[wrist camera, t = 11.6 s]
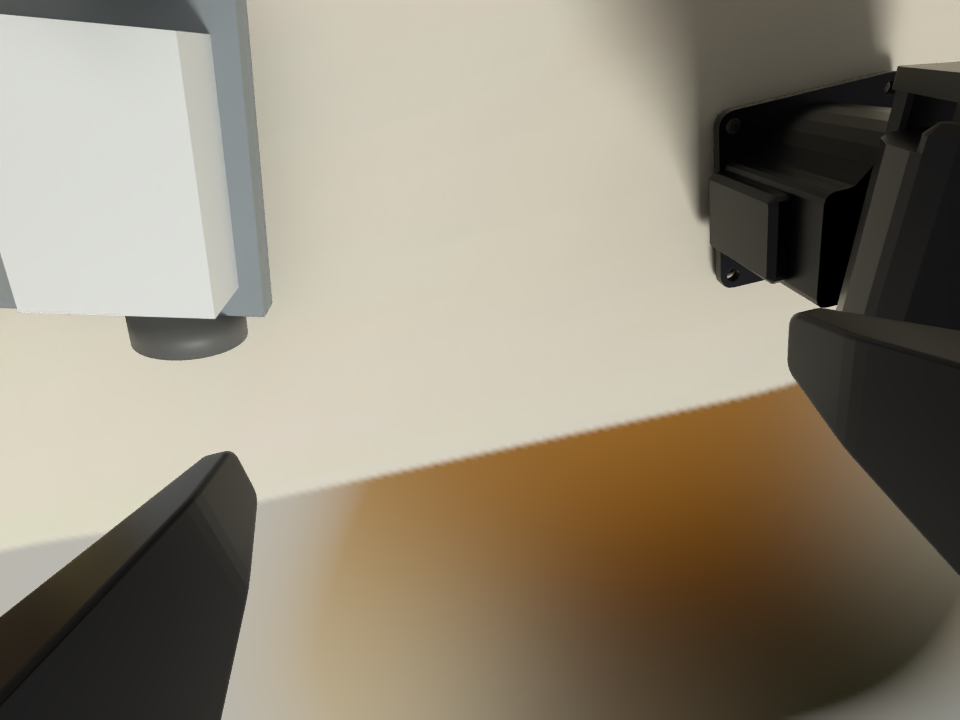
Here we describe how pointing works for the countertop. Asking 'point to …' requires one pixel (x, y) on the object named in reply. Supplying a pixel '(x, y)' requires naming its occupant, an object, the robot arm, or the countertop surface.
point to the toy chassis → (133, 169)
